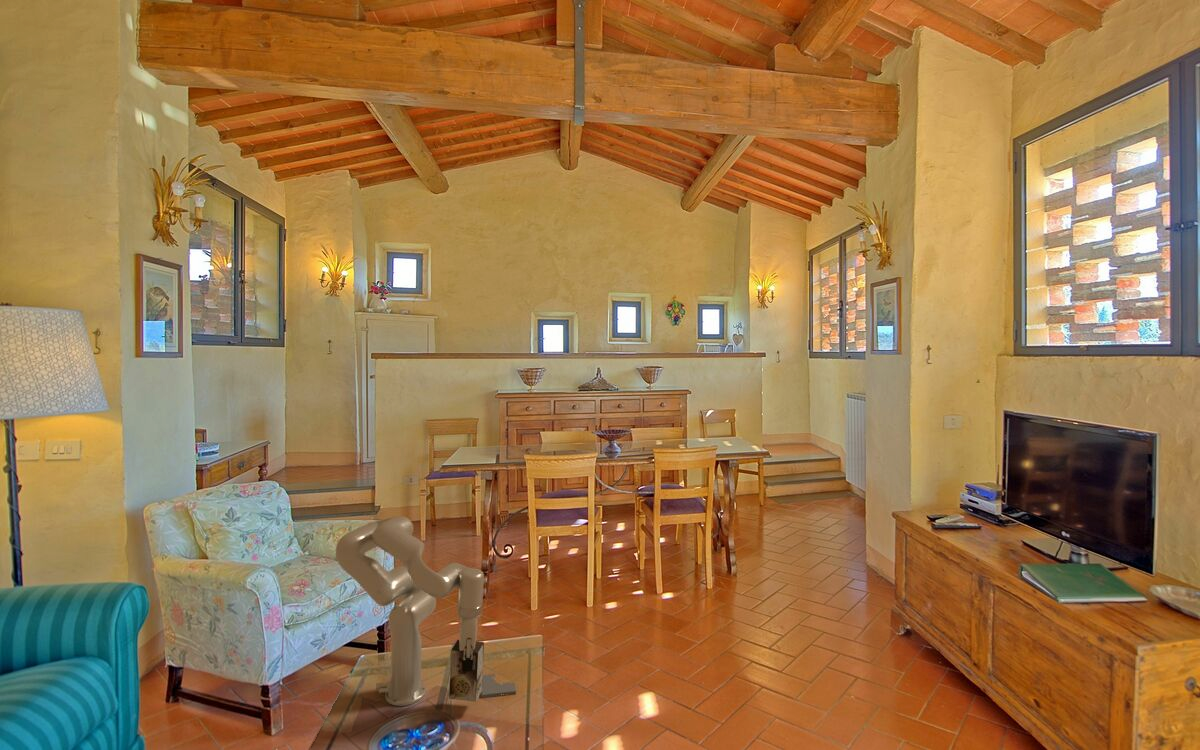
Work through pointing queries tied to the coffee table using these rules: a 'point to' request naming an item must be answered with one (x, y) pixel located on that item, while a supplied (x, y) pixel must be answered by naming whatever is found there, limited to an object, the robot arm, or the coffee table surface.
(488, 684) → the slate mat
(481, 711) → the coffee table surface
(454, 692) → the coffee box
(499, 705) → the coffee table surface
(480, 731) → the coffee table surface
